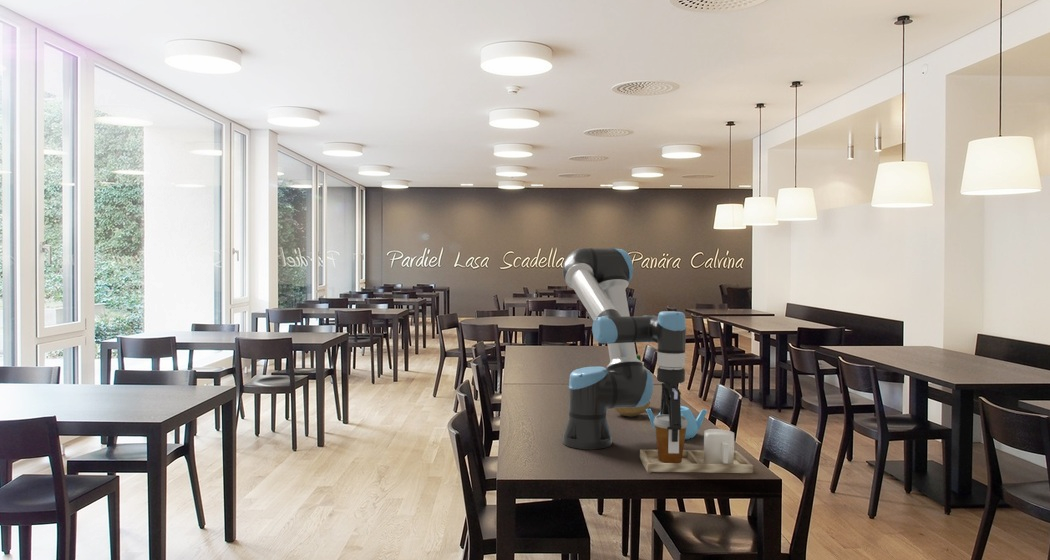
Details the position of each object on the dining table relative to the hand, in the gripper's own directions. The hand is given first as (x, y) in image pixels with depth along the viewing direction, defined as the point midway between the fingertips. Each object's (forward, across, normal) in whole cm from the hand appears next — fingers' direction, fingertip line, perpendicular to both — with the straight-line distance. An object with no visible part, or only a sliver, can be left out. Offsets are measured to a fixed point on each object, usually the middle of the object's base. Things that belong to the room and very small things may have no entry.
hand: (669, 447), depth 186 cm
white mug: (+5, -2, -13) cm, 14 cm away
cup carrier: (+5, 0, -7) cm, 8 cm away
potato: (+5, +61, +2) cm, 62 cm away
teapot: (+5, +34, -9) cm, 36 cm away
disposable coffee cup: (+4, 0, 0) cm, 4 cm away
